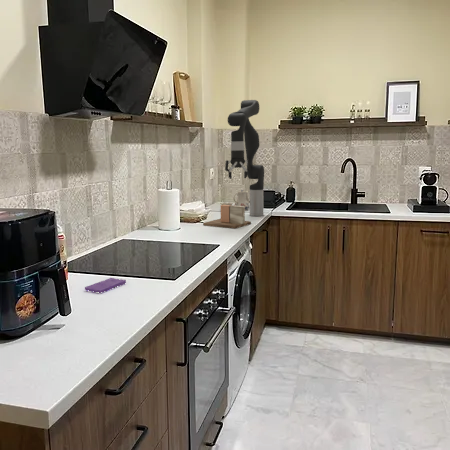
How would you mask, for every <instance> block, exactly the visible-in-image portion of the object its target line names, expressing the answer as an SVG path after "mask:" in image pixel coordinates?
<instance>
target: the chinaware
mask: <svg viewBox="0 0 450 450" xmlns="http://www.w3.org/2000/svg"><path fill="white" fill-rule="evenodd" d="M248 192H249V190H244V189H243V187H241V188H240V189H239V190H238V191H236V193H234V194H233V196H232V197H233V202H234V206H245V212H247V211H248V209H250V197H249V195H248ZM236 196H237V198H236V200H235V197H236ZM221 205H233V203H232V202H220V206H221ZM246 210H247V211H246Z"/></svg>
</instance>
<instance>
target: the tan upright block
mask: <svg viewBox="0 0 450 450" xmlns="http://www.w3.org/2000/svg"><path fill="white" fill-rule="evenodd" d="M232 205H233V204H232ZM232 205H221V204H220V219H221V222H228V223H230V206H232Z"/></svg>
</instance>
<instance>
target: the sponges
mask: <svg viewBox="0 0 450 450" xmlns="http://www.w3.org/2000/svg"><path fill="white" fill-rule="evenodd" d="M125 283H127V281H126V279H122V278H121V279H120V278H114V277H109V278H106V279H104V280H101V281H99V282H95V283H93V284H89V285H87V286H84V290H85V291H86V290H89V291H94V292H93V293H95V292H99V293H101V292H104V291H106V292H108V291H107V290H109V289H111V290H113V289H112V288H114V287H116V288H118V287H117V286H119V287H121V286H123V284H124V285H126V284H125ZM120 285H121V286H120ZM114 289H115V288H114ZM109 291H110V290H109ZM99 293H98V294H99ZM104 293H105V292H104ZM101 294H102V293H101Z"/></svg>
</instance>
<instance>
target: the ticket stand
mask: <svg viewBox="0 0 450 450" xmlns="http://www.w3.org/2000/svg"><path fill="white" fill-rule="evenodd" d="M234 205H235V204H234ZM234 205H233V204H232V206H230V223H228V222H221V218H216V219H213V220H210V221H205V222H203V226H205V227H206V226H207V227H213V228H214V227H215V228H222V229H223V228H225V229H232V230H235V229H238V228H241V227H243V228H244V227H245V226H249V225H251V224H252V221H249V220H245V217H246V215H245V213H246V211H245V206H234Z"/></svg>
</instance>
